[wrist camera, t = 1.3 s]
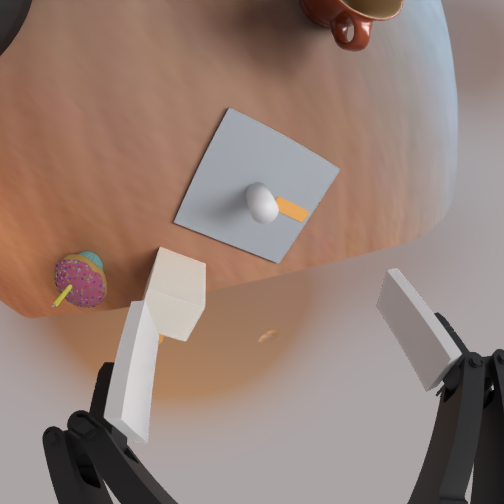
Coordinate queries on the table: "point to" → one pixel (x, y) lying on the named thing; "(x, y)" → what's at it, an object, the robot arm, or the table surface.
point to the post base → (241, 169)
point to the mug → (350, 18)
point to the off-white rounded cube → (175, 294)
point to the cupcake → (81, 279)
